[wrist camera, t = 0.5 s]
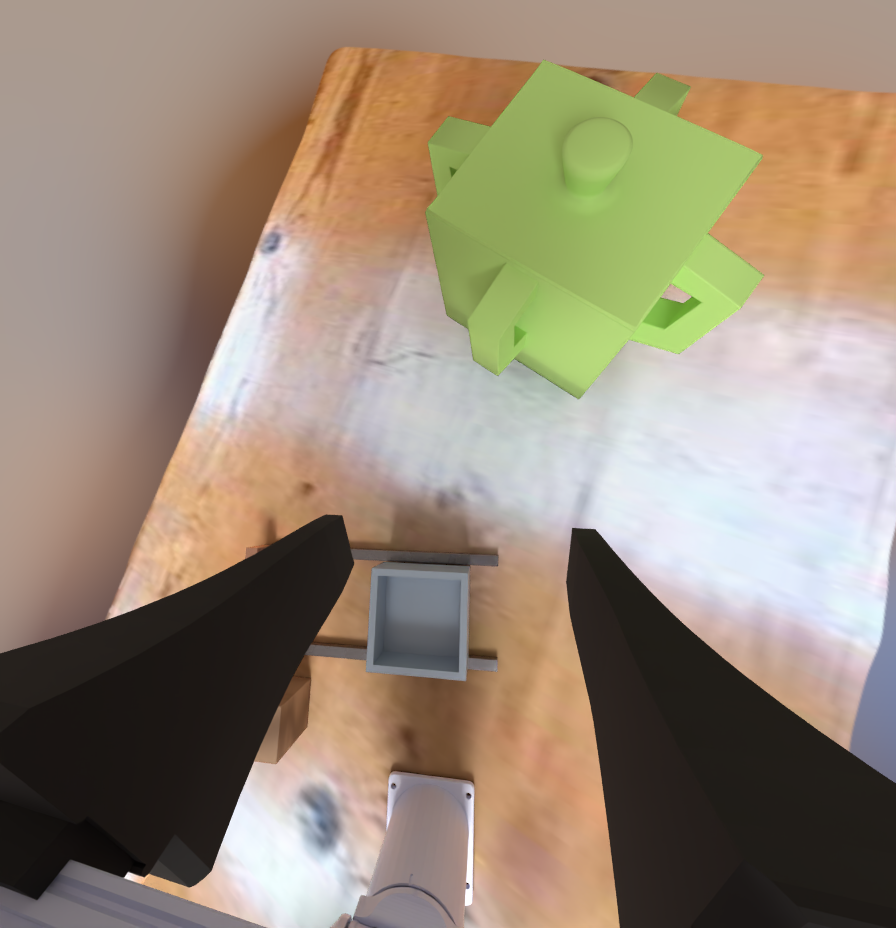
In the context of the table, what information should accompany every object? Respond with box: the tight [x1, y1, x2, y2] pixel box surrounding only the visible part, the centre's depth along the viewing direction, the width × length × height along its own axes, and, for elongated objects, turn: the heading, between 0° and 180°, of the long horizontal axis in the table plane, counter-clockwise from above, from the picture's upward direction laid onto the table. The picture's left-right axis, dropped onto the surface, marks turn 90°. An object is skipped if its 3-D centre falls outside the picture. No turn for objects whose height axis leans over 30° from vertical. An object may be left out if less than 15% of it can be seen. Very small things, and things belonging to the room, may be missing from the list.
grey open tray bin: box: [366, 562, 470, 681], centre depth 30 cm, size 9×9×5 cm
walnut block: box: [254, 676, 311, 764], centre depth 31 cm, size 4×4×5 cm
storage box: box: [425, 60, 764, 399], centre depth 27 cm, size 25×23×17 cm
